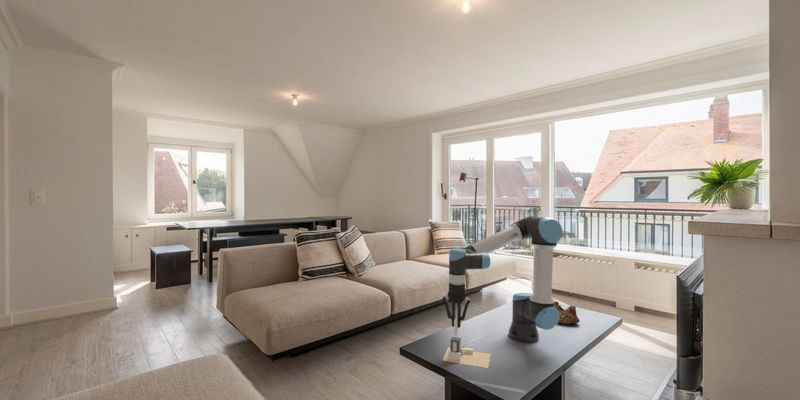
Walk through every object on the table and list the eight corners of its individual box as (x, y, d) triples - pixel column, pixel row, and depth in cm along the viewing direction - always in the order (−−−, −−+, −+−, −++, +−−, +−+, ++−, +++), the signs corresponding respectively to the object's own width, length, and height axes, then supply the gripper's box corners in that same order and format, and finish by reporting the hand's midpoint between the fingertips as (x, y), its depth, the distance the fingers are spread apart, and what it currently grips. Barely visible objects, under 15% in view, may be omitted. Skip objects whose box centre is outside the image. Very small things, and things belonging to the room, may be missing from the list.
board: (490, 356, 162) (490, 347, 162) (488, 370, 149) (488, 360, 149) (448, 349, 168) (448, 340, 168) (442, 362, 155) (442, 353, 155)
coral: (540, 303, 219) (561, 296, 221) (548, 324, 217) (569, 316, 219) (554, 307, 201) (577, 299, 203) (563, 330, 199) (586, 321, 201)
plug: (460, 355, 160) (460, 337, 160) (458, 359, 156) (459, 342, 156) (451, 353, 162) (452, 336, 161) (449, 358, 157) (450, 340, 157)
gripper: (472, 282, 160) (471, 333, 160) (444, 279, 164) (443, 329, 165) (470, 286, 153) (469, 339, 153) (441, 283, 157) (440, 335, 158)
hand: (456, 334), depth 159 cm, fingers closed
